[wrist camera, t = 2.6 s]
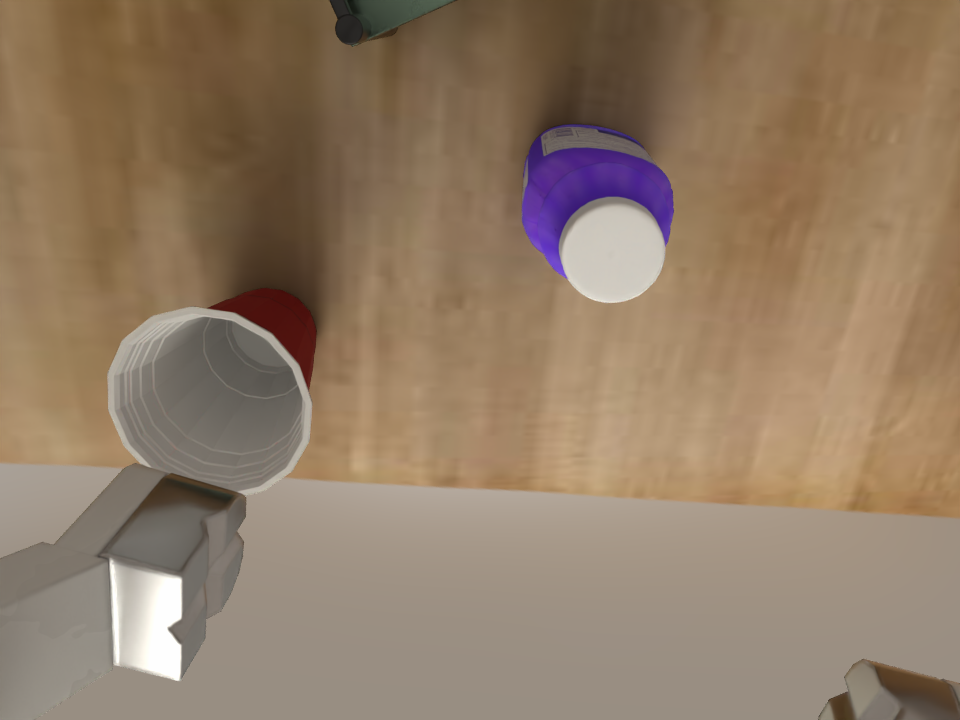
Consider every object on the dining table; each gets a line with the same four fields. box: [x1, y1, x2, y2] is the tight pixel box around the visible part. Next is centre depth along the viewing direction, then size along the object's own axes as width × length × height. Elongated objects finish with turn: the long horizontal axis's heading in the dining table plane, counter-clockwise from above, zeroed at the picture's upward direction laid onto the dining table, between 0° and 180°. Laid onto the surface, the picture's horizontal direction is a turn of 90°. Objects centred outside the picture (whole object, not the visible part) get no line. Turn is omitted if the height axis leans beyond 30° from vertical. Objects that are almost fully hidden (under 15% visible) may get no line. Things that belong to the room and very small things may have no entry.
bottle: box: [522, 124, 674, 303], centre depth 38 cm, size 7×6×17 cm
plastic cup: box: [108, 288, 316, 496], centre depth 46 cm, size 11×11×12 cm
